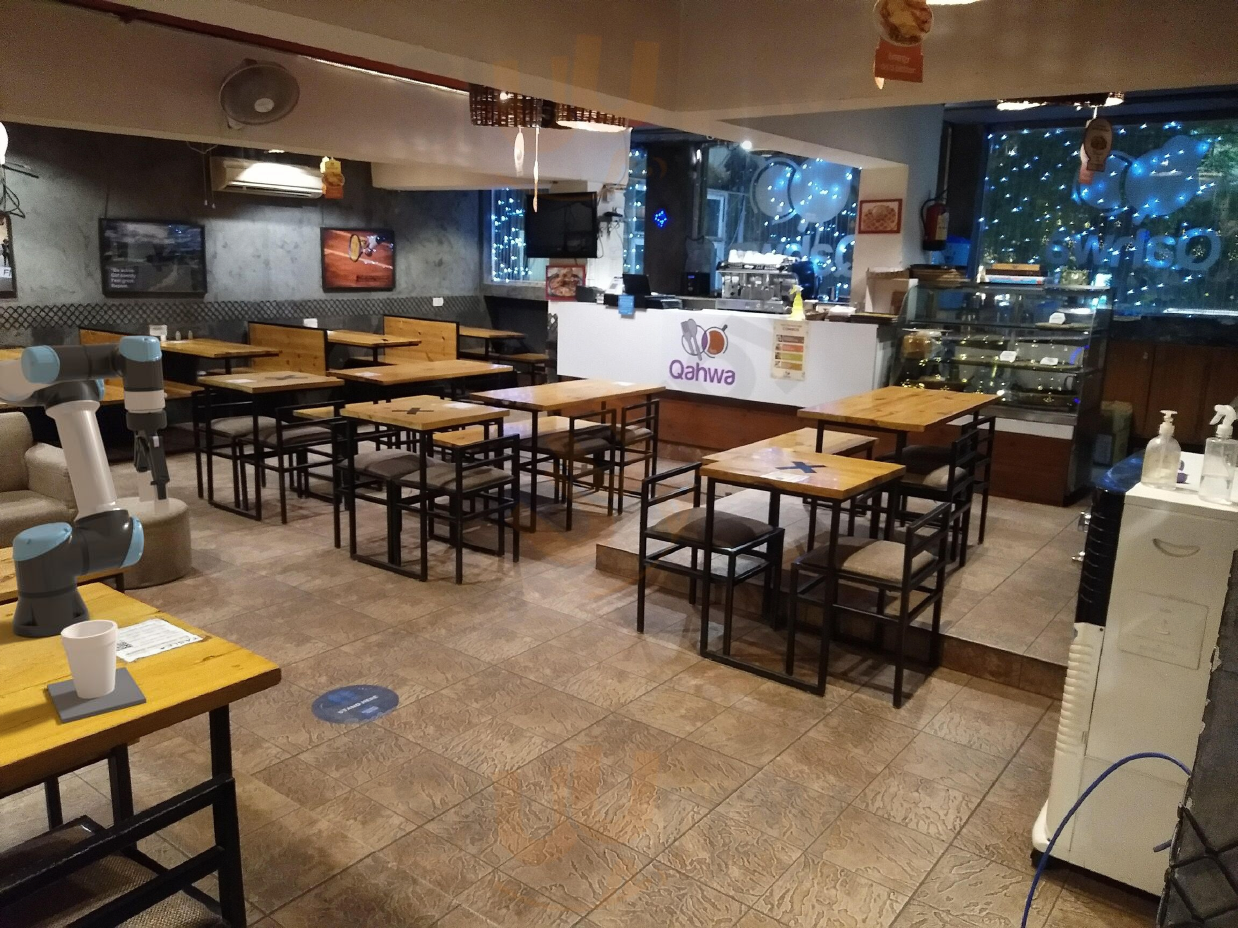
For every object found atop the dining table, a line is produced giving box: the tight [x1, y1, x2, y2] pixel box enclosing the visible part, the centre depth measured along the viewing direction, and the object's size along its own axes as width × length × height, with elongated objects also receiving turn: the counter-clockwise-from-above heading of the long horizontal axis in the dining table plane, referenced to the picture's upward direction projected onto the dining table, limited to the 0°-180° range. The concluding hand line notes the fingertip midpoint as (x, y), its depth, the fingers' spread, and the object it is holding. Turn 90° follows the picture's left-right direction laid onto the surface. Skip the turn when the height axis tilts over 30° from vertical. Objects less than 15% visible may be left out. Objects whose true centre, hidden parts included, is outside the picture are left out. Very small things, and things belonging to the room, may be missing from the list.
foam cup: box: [60, 619, 119, 698], centre depth 176 cm, size 10×9×13 cm
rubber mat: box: [46, 666, 147, 724], centre depth 177 cm, size 18×14×1 cm
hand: (154, 507), depth 195 cm, fingers open, 13 cm apart
